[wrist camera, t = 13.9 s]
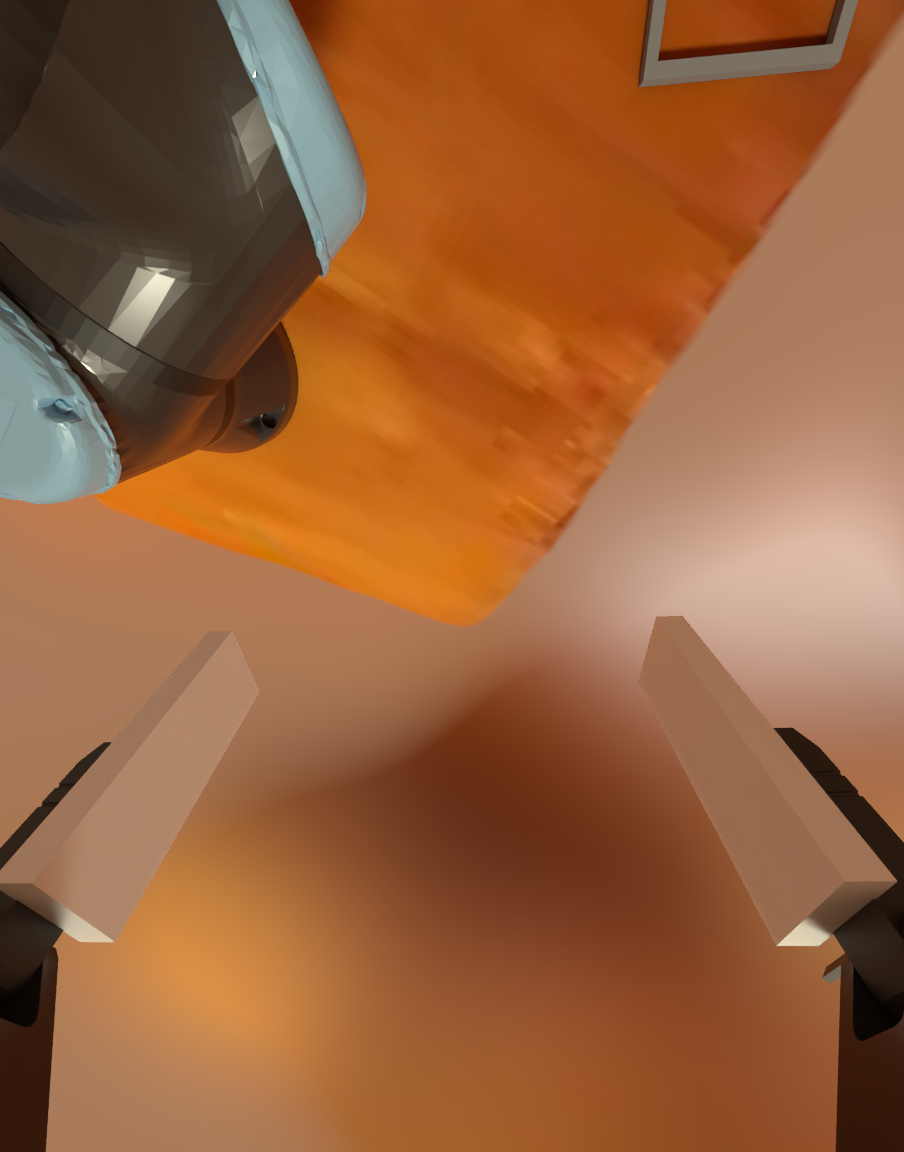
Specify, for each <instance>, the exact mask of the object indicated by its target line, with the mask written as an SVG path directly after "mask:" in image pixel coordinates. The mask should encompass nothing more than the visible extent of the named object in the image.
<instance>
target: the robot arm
mask: <svg viewBox="0 0 904 1152" xmlns="http://www.w3.org/2000/svg"><path fill="white" fill-rule="evenodd" d="M366 192H367V189H366V182H365V176H364V171H363V167H362V163H361V160H360V157H359V154H358V151H357V148H356V145H355V143H354V140H353V138H352V135H351V133H350V130H349V128H348V126H347V123H346V121H345V119H344V116H343V114H342V112H341V109H340V107H339V105H338V102H337V100H336V98H335V96H334V94H333V91H332V89H331V87H330V85H329V83H328V80H327V78H326V76H325V74H324V72H323V70H322V68H321V65H320V63H319V61H318V59H317V57H316V55H315V53H314V51H313V49H312V46H311V44H310V42H309V40H308V38H307V36H306V34H305V32H304V30H303V28H302V26H301V24H300V22H299V20H298V17H297V15H296V13H295V11H294V9H293V7H292V5H291V3H290V1H289V0H0V497H4V498H8V499H15V500H18V499H20V500H23V501H26V502H30V503H34V504H52V503H59V502H65V501H69V500H72V499H76V498H79V497H82V496H86V495H89V494H98V493H104V492H107V491H108V490H109V489H110V488H113V487H114V486H116V484H118V483H120V482H123V481H125V480H128V479H130V478H132V477H135V476H137V475H139V474H142V473H144V472H147V471H149V470H151V469H154V468H156V467H159V466H161V465H163V464H166V463H168V462H170V461H173V460H175V459H178V458H180V457H182V456H185V455H187V454H190V453H192V452H194V451H196V450H204V451H212V452H220V453H239V452H244V451H249V450H252V449H255V448H257V447H259V446H261V445H263V444H265V443H267V442H269V441H271V440H272V439H274V438H275V437H276V436H277V435H279V434H280V433H281V432H282V431H283V429H284V428H285V427H286V426H287V424H288V422H289V421H290V419H291V417H292V415H293V412H294V409H295V406H296V402H297V396H298V373H297V366H296V362H295V358H294V354H293V351H292V348H291V345H290V343H289V340H288V338H287V336H286V334H285V332H284V330H283V328H282V326H281V325H280V323H279V322H280V321H281V320H282V319H283V318H284V316H285V315H286V314H287V313H288V312H289V311H290V309H291V308H292V307H293V306H294V305H295V303H296V302H297V301H298V300H299V299H300V297H301V296H302V295H303V294H304V293H305V291H306V290H307V289H308V288H309V287H310V285H311V284H312V283H313V282H314V281H315V279H316V278H317V277H318V276H319V275H320V276H321V277H325V276H326V275H327V274H328V272H329V269H330V262H331V261H332V259H333V258H334V257H335V255H336V254H337V253H338V251H339V250H340V249H341V247H342V246H343V245H344V243H345V242H346V241H347V239H348V238H349V237H350V235H351V234H352V233H353V232H354V230H355V229H356V228H357V226H358V225H359V223H360V221H361V219H362V217H363V214H364V211H365V206H366ZM639 684H640V686H641V688H642V690H643V692H644V694H645V695H646V697H647V699H648V701H649V703H650V705H651V707H652V709H653V711H654V713H655V715H656V716H657V718H658V720H659V722H660V724H661V726H662V728H663V730H664V732H665V734H666V736H667V737H668V739H669V741H670V743H671V745H672V747H673V749H674V751H675V753H676V755H677V757H678V759H679V761H680V762H681V764H682V766H683V768H684V770H685V772H686V774H687V776H688V777H689V779H690V782H691V783H692V785H693V787H694V789H695V791H696V793H697V795H698V797H699V799H700V801H701V802H702V804H703V806H704V808H705V810H706V812H707V814H708V816H709V818H710V820H711V821H712V823H713V825H714V827H715V829H716V831H717V833H718V835H719V837H720V839H721V841H722V843H723V844H724V846H725V848H726V850H727V852H728V854H729V856H730V858H731V859H732V862H733V864H734V865H735V867H736V869H737V871H738V873H739V875H740V877H741V879H742V881H743V882H744V884H745V886H746V888H747V890H748V892H749V894H750V896H751V898H752V900H753V902H754V904H755V905H756V908H757V909H758V911H759V913H760V915H761V917H762V919H763V921H764V923H765V925H766V927H767V929H768V930H769V932H770V934H771V936H772V938H773V940H774V942H775V944H776V945H777V946H819V945H820V944H822V943H823V942H824V941H825V940H826V939H828V938H829V937H830V936H831V935H833V934H834V935H835V937H836V938H837V940H838V942H839V943H840V945H841V947H842V948H843V950H844V951H845V954H844V955H842V956H841V957H840V958H838V959H837V960H835V961H834V962H833V963H831V964H830V965H828V966H827V967H826V969H825V972H824V975H823V977H822V978H823V979H825V980H826V981H828V982H829V983H831V982H833V981H834V980H836V979H837V978H839V977H840V976H841V985H840V986H841V987H840V1021H839V1057H838V1059H839V1060H838V1091H837V1125H836V1126H837V1127H836V1152H904V842H903V841H902V840H901V839H900V838H899V837H898V836H897V835H896V833H895V832H894V831H893V830H892V829H891V828H890V827H889V826H888V824H887V823H886V822H885V821H884V820H883V819H882V818H881V817H880V815H879V814H878V813H877V812H876V811H875V810H874V809H873V807H872V806H871V805H870V804H869V803H868V802H867V801H866V800H865V798H863V796H859V795H858V791H857V789H856V788H855V787H854V786H853V785H852V784H851V783H850V782H849V780H848V779H847V778H846V777H845V776H842V775H841V774H840V770H839V769H838V768H837V767H836V766H835V765H834V764H833V762H832V761H831V760H830V759H829V758H828V757H827V756H826V754H825V753H824V752H823V751H822V750H821V749H820V748H819V747H818V746H817V745H815V744H814V743H813V742H811V741H810V740H808V739H807V738H806V737H804V736H803V735H802V734H800V733H799V732H797V731H796V730H795V729H794V728H773V727H772V726H771V725H770V723H769V722H768V721H767V720H766V719H765V717H764V716H763V715H762V714H761V712H760V711H759V710H758V709H757V708H756V706H755V705H754V704H753V703H752V701H751V700H750V699H749V698H748V696H747V695H746V694H745V693H744V692H743V690H742V689H741V688H740V686H739V685H738V684H737V683H736V682H735V680H734V679H733V678H732V677H731V675H730V674H729V673H728V672H727V670H726V669H725V668H724V667H723V666H722V664H721V663H720V662H719V661H718V659H717V658H716V657H715V656H714V654H713V653H712V652H711V651H710V649H709V648H708V647H707V646H706V645H705V643H704V642H703V641H702V640H701V638H700V637H699V636H698V635H697V634H696V632H695V631H694V630H693V629H692V628H691V626H690V625H689V624H688V622H687V621H686V620H685V619H684V617H683V616H667V617H656V619H655V623H654V627H653V631H652V634H651V638H650V641H649V645H648V649H647V652H646V656H645V660H644V664H643V667H642V671H641V674H640V678H639ZM258 694H259V690H258V687H257V685H256V683H255V681H254V679H253V677H252V674H251V672H250V670H249V667H248V665H247V663H246V661H245V659H244V656H243V654H242V652H241V650H240V648H239V645H238V643H237V641H236V639H235V637H234V634H233V632H232V631H217V632H208V633H207V634H206V635H205V636H204V638H203V639H202V640H201V641H200V642H199V643H198V644H197V645H196V647H195V648H194V649H193V650H192V651H191V652H190V654H189V655H188V656H187V657H186V658H185V659H184V660H183V662H182V663H181V664H180V665H179V666H178V667H177V669H176V670H175V671H174V672H173V673H172V674H171V675H170V677H169V678H168V679H167V680H166V681H165V682H164V683H163V685H162V686H161V687H160V688H159V689H158V690H157V691H156V692H155V694H154V695H153V696H152V697H151V698H150V699H149V700H148V702H147V703H146V704H145V705H144V706H143V707H142V709H141V710H140V711H139V712H138V713H137V714H136V715H135V717H134V718H133V719H132V720H131V721H130V722H129V723H128V725H127V726H126V727H125V728H124V729H123V730H122V731H121V733H120V734H119V735H118V736H117V737H116V739H115V740H114V741H113V742H105V743H103V744H102V745H100V746H99V747H98V748H96V749H95V750H94V751H92V752H91V753H90V754H88V755H87V756H86V757H85V758H83V759H82V760H81V761H79V762H78V763H77V765H76V766H75V767H74V768H73V769H72V770H71V771H70V772H69V773H68V774H67V776H66V777H65V778H64V779H63V780H62V781H61V782H60V783H59V787H58V788H55V789H54V790H53V791H52V792H51V793H50V794H49V795H48V796H47V798H46V799H45V800H44V801H43V802H42V806H41V807H38V808H37V809H36V810H35V811H34V812H33V813H32V814H31V815H30V816H29V817H28V819H27V820H26V821H25V822H24V823H23V824H22V825H21V826H20V827H19V828H18V829H17V830H16V832H15V833H14V834H13V835H12V836H11V837H10V838H9V839H8V840H7V841H6V843H5V844H4V845H3V846H2V847H1V848H0V1152H46V1138H47V1122H48V1108H49V1092H50V1076H51V1060H52V1046H53V1031H54V1016H55V1001H56V1000H55V999H56V985H57V970H58V956H57V951H56V948H54V947H53V945H54V944H55V942H56V941H57V939H58V938H59V936H60V935H61V933H62V932H63V931H64V932H65V933H67V934H68V935H70V936H71V937H73V938H74V939H76V940H78V941H79V942H116V940H117V938H118V936H119V935H120V933H121V931H122V929H123V928H124V926H125V924H126V923H127V921H128V919H129V917H130V916H131V914H132V912H133V910H134V909H135V906H136V905H137V903H138V902H139V900H140V898H141V896H142V895H143V893H144V891H145V889H146V888H147V886H148V884H149V883H150V881H151V879H152V877H153V876H154V874H155V872H156V870H157V869H158V867H159V865H160V863H161V862H162V860H163V858H164V857H165V855H166V853H167V851H168V850H169V848H170V846H171V844H172V842H173V841H174V839H175V837H176V836H177V834H178V832H179V831H180V829H181V827H182V825H183V824H184V822H185V820H186V818H187V817H188V815H189V813H190V811H191V810H192V808H193V806H194V804H195V803H196V801H197V799H198V798H199V796H200V794H201V792H202V791H203V789H204V787H205V785H206V784H207V782H208V780H209V778H210V777H211V775H212V773H213V772H214V770H215V768H216V766H217V765H218V763H219V761H220V759H221V758H222V756H223V754H224V753H225V750H226V749H227V747H228V746H229V744H230V742H231V740H232V739H233V737H234V735H235V733H236V732H237V730H238V728H239V726H240V725H241V723H242V721H243V720H244V718H245V716H246V714H247V712H248V711H249V709H250V707H251V706H252V704H253V702H254V700H255V699H256V697H257V695H258Z"/></svg>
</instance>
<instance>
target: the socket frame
mask: <svg viewBox="0 0 904 1152" xmlns="http://www.w3.org/2000/svg"><path fill="white" fill-rule="evenodd" d="M857 2H858V0H837V4H836V7H835V11H834V14H833V18H832V21H831V25H830V28H829V32H828V35H827V39H826V42H825V45H816V46H806V47H796V48H786V49H776V50H766V51H756V52H745V53H735V54H725V55H715V56H705V57H695V58H685V59H675V60H665V61H658V57H659V50H660V43H661V36H662V29H663V22H664V14H665V7H666V0H650V2H649V10H648V18H647V26H646V34H645V41H644V49H643V57H642V65H641V73H640V80H639V87H646V86H657V85H667V84H677V83H688V82H698V81H709V80H719V79H729V78H740V77H750V76H761V75H771V74H781V73H792V72H802V71H813V70H823V69H830V68H832V67H833V66H834V65H836V64H837V63H838V62H840V59H841V56H842V52H843V49H844V46H845V42H846V39H847V36H848V32H849V29H850V26H851V22H852V19H853V16H854V12H855V9H856V6H857Z"/></svg>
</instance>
